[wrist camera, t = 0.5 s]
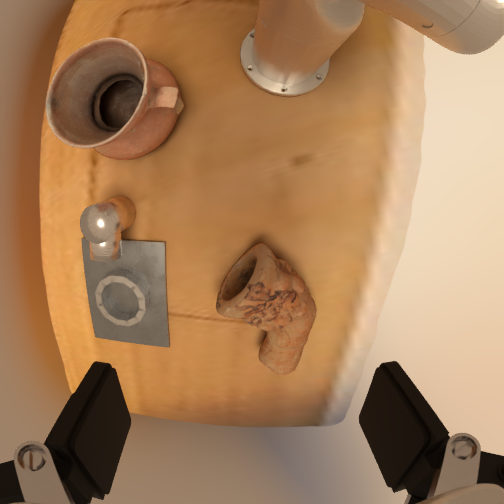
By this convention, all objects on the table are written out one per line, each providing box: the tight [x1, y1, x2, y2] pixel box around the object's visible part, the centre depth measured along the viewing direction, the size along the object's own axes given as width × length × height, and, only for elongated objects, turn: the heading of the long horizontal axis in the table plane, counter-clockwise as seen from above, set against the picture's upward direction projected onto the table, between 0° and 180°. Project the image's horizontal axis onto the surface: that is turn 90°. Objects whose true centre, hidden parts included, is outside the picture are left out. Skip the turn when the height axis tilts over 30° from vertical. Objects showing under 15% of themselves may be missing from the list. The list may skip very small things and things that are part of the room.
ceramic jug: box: [46, 38, 184, 160], centre depth 28 cm, size 18×14×14 cm
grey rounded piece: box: [80, 197, 136, 262], centre depth 35 cm, size 7×5×8 cm, turn 176°
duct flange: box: [82, 237, 170, 347], centre depth 42 cm, size 18×14×3 cm
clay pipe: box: [216, 243, 317, 374], centre depth 40 cm, size 19×11×15 cm
